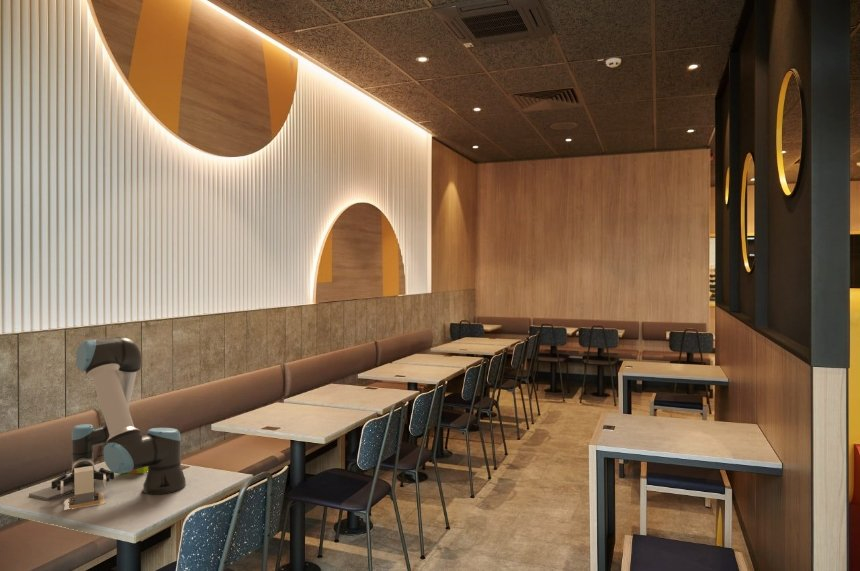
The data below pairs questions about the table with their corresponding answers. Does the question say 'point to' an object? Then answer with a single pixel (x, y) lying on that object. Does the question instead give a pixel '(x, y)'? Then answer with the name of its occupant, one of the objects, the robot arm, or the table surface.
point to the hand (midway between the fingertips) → (83, 486)
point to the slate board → (51, 492)
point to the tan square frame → (87, 504)
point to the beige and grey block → (84, 484)
